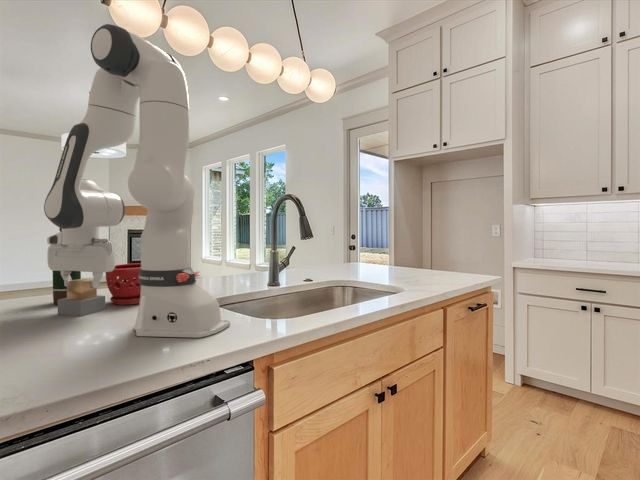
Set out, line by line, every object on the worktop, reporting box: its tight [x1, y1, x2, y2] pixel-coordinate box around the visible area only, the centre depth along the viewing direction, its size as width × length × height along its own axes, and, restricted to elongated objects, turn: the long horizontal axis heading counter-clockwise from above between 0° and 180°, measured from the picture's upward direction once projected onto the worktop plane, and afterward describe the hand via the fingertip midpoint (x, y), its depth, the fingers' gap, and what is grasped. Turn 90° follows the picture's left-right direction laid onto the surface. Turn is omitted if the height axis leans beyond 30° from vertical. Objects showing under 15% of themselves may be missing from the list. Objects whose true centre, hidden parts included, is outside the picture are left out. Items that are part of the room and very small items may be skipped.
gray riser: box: [57, 295, 106, 317], centre depth 103 cm, size 8×8×4 cm
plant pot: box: [105, 262, 141, 306], centre depth 116 cm, size 13×13×12 cm
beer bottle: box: [52, 228, 82, 306], centre depth 114 cm, size 8×8×24 cm
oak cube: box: [67, 278, 98, 300], centre depth 103 cm, size 5×5×5 cm
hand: (81, 287), depth 103 cm, fingers open, 8 cm apart
